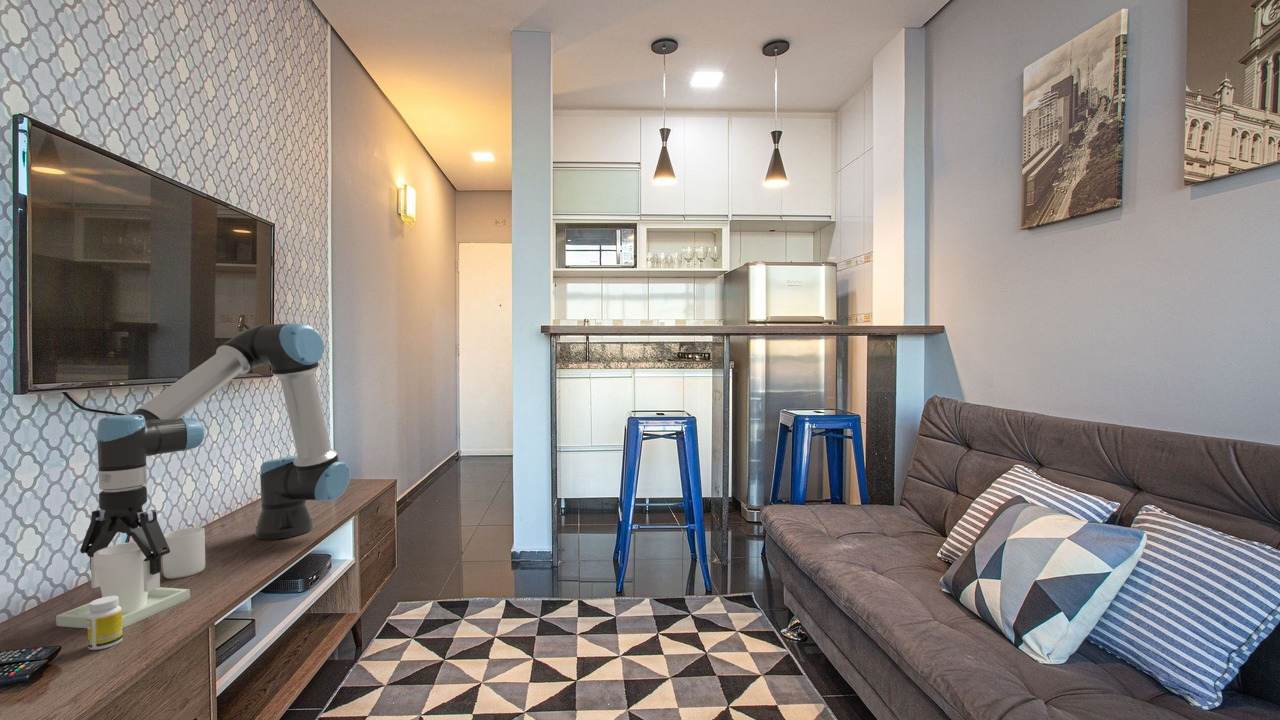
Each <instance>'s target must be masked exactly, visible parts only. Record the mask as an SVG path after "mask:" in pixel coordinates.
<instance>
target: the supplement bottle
mask: <svg viewBox="0 0 1280 720" xmlns="http://www.w3.org/2000/svg"><path fill="white" fill-rule="evenodd" d="M89 603H90V608H89V610H90V613H89V614H88V616H87V648H88V650H91V651H97V650H104V649H107V648H111V647H113V646H116V645H117V644H119V643H120V642H121V641H122V640H123V635H124V634H123V629H122V608H121V607H120V606H118V604H119V598H118V596H107V597H103V598H102V597H99V598H97V599H93V600H92V601H90V602H89Z"/></svg>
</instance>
